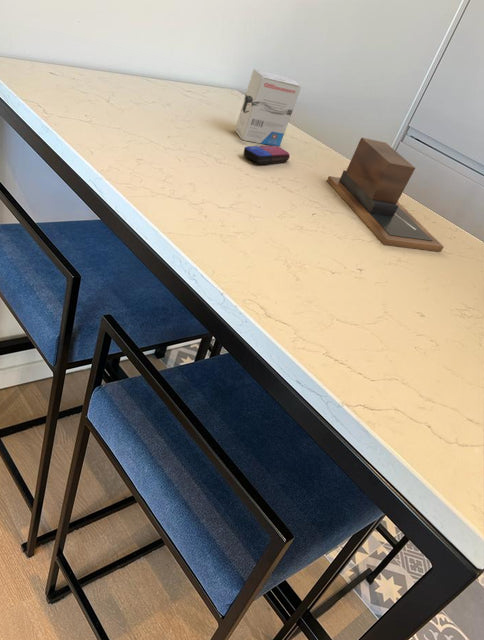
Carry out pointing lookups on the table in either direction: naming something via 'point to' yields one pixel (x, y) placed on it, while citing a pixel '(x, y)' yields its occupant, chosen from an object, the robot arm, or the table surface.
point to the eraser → (266, 154)
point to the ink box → (267, 108)
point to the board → (390, 223)
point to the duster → (377, 176)
